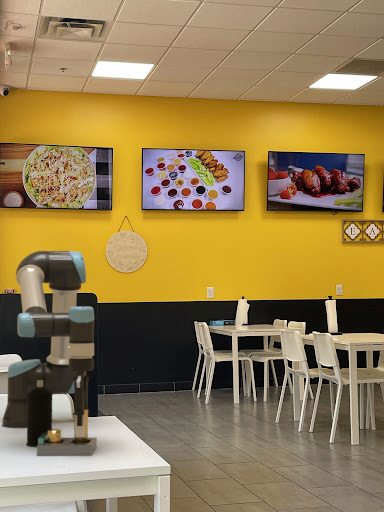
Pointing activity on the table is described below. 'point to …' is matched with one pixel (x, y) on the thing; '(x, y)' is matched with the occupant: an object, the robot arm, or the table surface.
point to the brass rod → (85, 439)
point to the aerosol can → (38, 413)
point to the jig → (63, 445)
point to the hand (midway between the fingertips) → (81, 435)
